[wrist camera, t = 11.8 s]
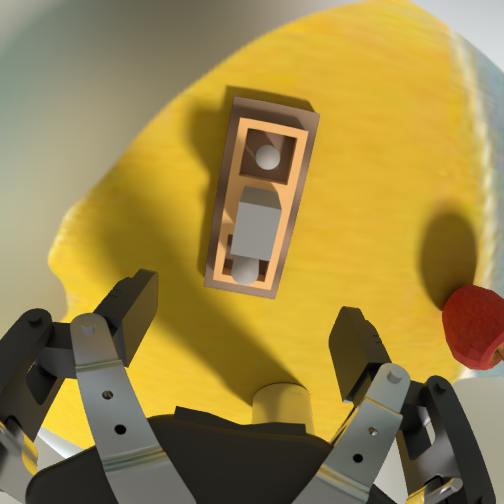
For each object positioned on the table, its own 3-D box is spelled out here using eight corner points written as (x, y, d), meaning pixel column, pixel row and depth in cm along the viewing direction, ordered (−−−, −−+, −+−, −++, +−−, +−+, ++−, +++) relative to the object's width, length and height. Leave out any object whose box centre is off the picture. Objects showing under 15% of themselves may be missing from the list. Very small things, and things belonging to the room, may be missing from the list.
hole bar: (270, 282, 30) (271, 326, 24) (215, 272, 30) (202, 314, 23) (305, 131, 24) (322, 131, 17) (241, 118, 24) (233, 112, 17)
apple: (486, 264, 30) (543, 316, 17) (470, 319, 34) (513, 376, 21) (435, 274, 31) (493, 340, 18) (421, 333, 35) (461, 402, 22)
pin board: (274, 292, 33) (276, 324, 27) (206, 279, 32) (195, 309, 27) (317, 114, 25) (331, 110, 19) (235, 98, 24) (228, 88, 19)
